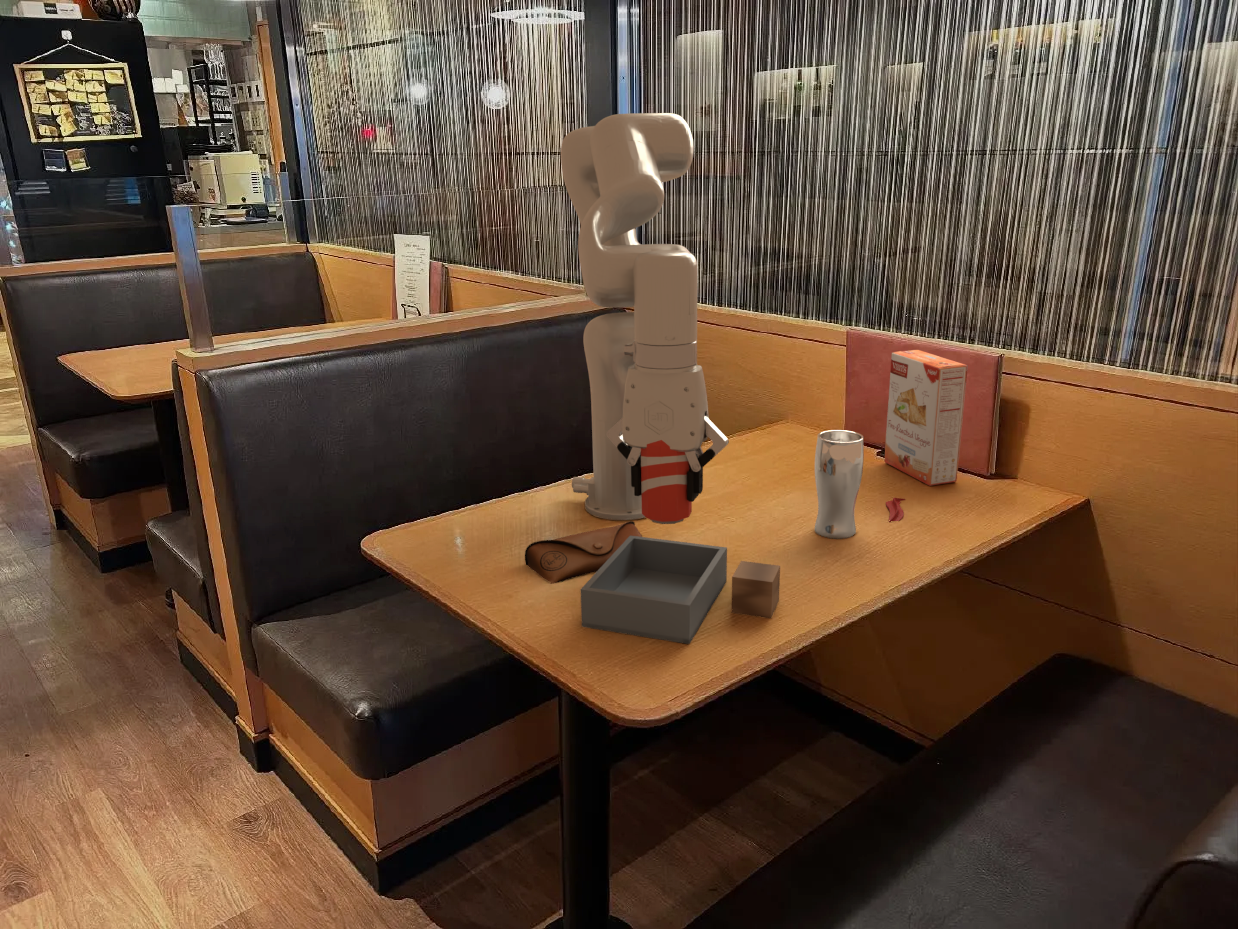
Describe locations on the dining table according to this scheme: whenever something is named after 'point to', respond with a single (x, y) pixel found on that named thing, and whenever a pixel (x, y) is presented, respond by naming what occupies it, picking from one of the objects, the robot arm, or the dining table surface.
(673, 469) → the beverage can
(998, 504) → the dining table surface
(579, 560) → the sunglasses case
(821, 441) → the beer glass
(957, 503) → the dining table surface
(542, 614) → the dining table surface
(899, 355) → the cracker box
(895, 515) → the cayenne pepper
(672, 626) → the tote
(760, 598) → the walnut cube
